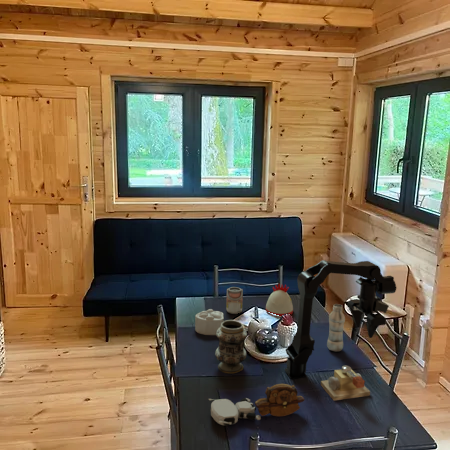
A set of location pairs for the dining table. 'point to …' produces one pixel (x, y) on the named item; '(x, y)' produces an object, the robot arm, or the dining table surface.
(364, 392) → the valve board
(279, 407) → the wooden carving
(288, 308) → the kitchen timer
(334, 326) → the plastic bottle
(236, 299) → the beige cylinder
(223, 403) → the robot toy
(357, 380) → the lever
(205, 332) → the lumpy-topped squat cylinder
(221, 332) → the apothecary jar
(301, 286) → the robot arm
